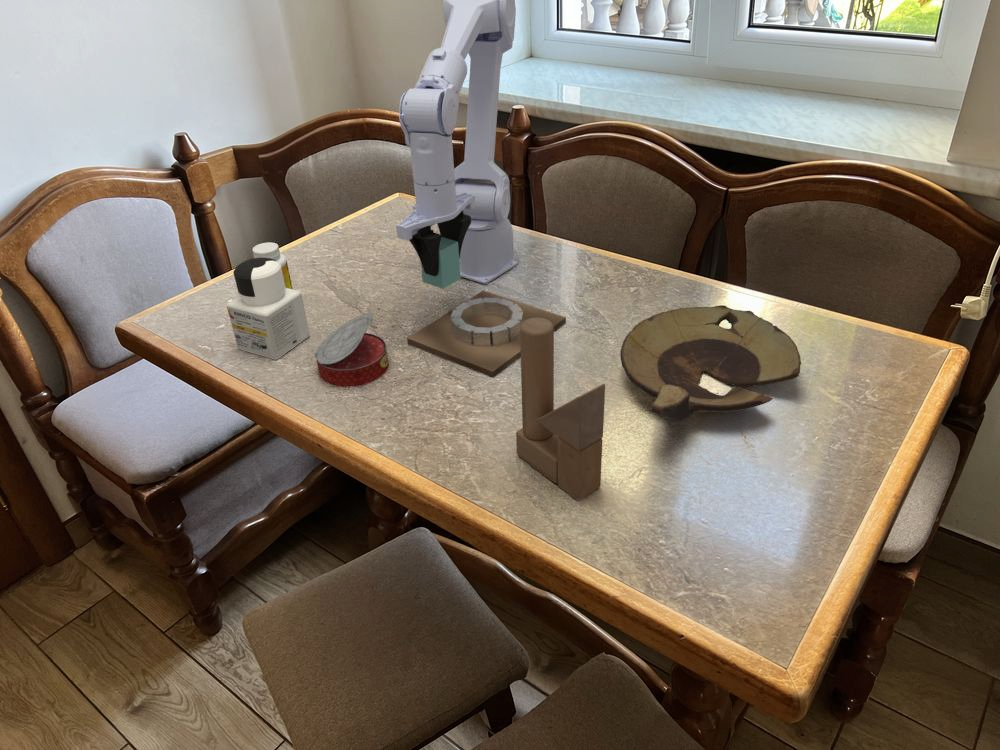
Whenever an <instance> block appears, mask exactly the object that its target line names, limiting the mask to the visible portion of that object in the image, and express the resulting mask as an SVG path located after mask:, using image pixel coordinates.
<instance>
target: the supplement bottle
mask: <svg viewBox="0 0 1000 750" xmlns="http://www.w3.org/2000/svg"><path fill="white" fill-rule="evenodd" d="M252 254H253V258H271V259H274V260H276V261H278V262H279V263H280V264H281V269H282V273H283V278H284V283H285V287H286V288H289V289H293V284H292V279H291V274H290V269H289V265H288V261H287V257H286V256H285V255H284V254H282V253H281V251H280V247H279V245H278V244H277V243H275V242H262V243H259V244H256V245H255V246H253V247H252ZM293 290H294V289H293Z"/></svg>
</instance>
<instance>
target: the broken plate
mask: <svg viewBox="0 0 1000 750" xmlns="http://www.w3.org/2000/svg"><path fill="white" fill-rule="evenodd" d="M723 321H727V322H728V324H730V325H731V326H730V328H726V327H722V326H720V324H721V323H722V322H723ZM798 349H799V348H798V346H797V344H796V343H795V341H794V339H792V338H791V336H790V335H789V334H787V333H786V332H785V331H783V329H781V328H779V327H778V326H777V325H773V323H772V322H770V321H769V320H766V319H764V318H763V317H759V316H758V315H756V314H755V313H754V312H753V311H752V310H741V309H733V308H730V307H728V306H726V305H722V304H721V305H715V306H693V307H682V308H681V307H679V308H675V309H670V310H667V311H662V312H660V313H659V312H658V313H656V314H654V315H651V316H650V317H647V318H645V319H643V320H640V321H639V322H638V323H637V324H635V326H633V328H632V330H630V331H629V332H628V333H627V335H626V336H625V337H624V340H623V342H622V344H621V348H620V363H621V366H622V368H623V370H624V372H625V374H626V376H627V377H628V379H629V380H630V381H631V382H632V384H634V385H635V386H636V387H637V388H638V389H640V390H642V391H643V392H645V393H646V394H648V395H649V396H650V397H652V398H653V399H655V400H654V401H653V402H652V404H651V412H652V414H655V415H658V416H661V417H664V418H667V419H668V420H671V421H673V422H682V421H684V420H686V419H687V418H689V416H691V415H692V414H695V413H702V412H703V413H704V412H705V413H706V412H712V413H714V412H716V413H728V412H738V411H742V410H747V409H752V408H756V407H758V406H759V407H760V406H761V405H764V404H767V403H769V402H771V401H772V400H773V397H772V396H769V395H765V394H764V393H757V392H755V391H750V390H748V389H746V388H750V387H751V388H752V387H756V386H766V385H770V384H775V383H782V382H785V381H790V380H793V379H796V378H798V377H799V375H800V372H801V365H802V361H801V355H800V352H799V350H798ZM703 373H707V374H708V375H710V376H711V377H714V378H715V379H716V380H719V381H720V382H722V383H724V384H727V385H729V386H733V387H732V388H731V389H729V391H728V392H726V393H725V394H723V395H719V393H718V392H715V393H714V392H711V391H710V390H709V389H707V388H705V387H702V386H701V385H699V383H700V380H701V377H702V374H703ZM742 387H744V388H745V389H744V388H742Z"/></svg>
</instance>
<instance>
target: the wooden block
mask: <svg viewBox="0 0 1000 750" xmlns="http://www.w3.org/2000/svg"><path fill="white" fill-rule="evenodd" d="M554 334H555V332H554V326H553V324H552V322H550V321H549V320H547V319H544V318H530V319H527V320H525V321H524V322H523V323H522V324H521V326H520V350H521V357H520V376H521V379H520V380H521V381H520V383H521V415H522V417H521V418H522V419H521V420H522V427H521V428H520V429H518V430H516V432H515V437H516V438H515V440H516V454H517V456H518V457H520V458H521V459H522V460H523V461H525V462H526V463H528V465H530V466H532V467H533V468H534V469H535V470H537V471H538V472H540V473H541V474H542V475H544V476H545V477H546V478H548V479H549V480H551V482H553V483H554V484H557V486H558V487H559V488H560V489H562V490H563V491H564V492H566V493H567V494H568V495H570V496H571V497H572V498H574V499H575V500H576V501H581V500H583V499H585V497H587V496H590V494H592V493H594V492H595V491H597V490H598V489H600V488H601V484H602V482H601V480H602V478H601V477H602V459H603V437H604V423H605V420H604V419H605V397H606V383H602V384H600V385H598V386H596V387H595V388H592V389H591V390H589V391H587V392H585V393H582V394H581V395H579V396H577V397H576V398H574V399H571V400H570V401H568V402H566V403H565V404H564V403H563V404H562V405H561V406H559V407H557V408H555V409H554V407H555V406H554V404H555V402H554V401H555V399H554V398H555V394H554V392H555V391H554V390H555V387H554V384H555V382H554V381H555V369H554V368H555V367H554V366H555V361H554V360H555V356H554V355H555V347H554V346H555V344H554V340H555V338H554V337H555V336H554Z"/></svg>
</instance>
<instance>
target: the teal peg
mask: <svg viewBox="0 0 1000 750" xmlns="http://www.w3.org/2000/svg"><path fill="white" fill-rule="evenodd" d="M438 258H439V271H438V275H437V276H432V275H429V274H426V273H425V271H424V269H423V266H422V263H421V262H420V266H421V267H420V268H421V276H422V277H421V278H422V283H424V284H427V285H430V286H433V287H436V288H439V289H442V290H443V289H446V288H448V287H449V286H451V285H452V284H455V283H456V282H458V281H460V280H461V278H462V277H460V258H459V249H458V242H457V241H454V240H450V239H447V238H444V237H442V238H441V241H440V246H439V254H438Z"/></svg>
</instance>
